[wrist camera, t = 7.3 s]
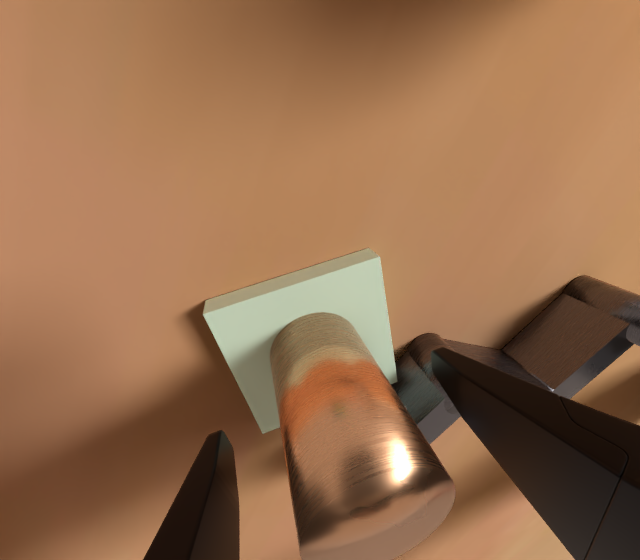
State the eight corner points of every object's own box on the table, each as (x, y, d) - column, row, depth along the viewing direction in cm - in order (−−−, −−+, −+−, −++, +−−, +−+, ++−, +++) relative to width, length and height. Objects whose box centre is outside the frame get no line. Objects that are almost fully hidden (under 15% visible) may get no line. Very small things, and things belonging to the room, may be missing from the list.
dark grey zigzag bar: (578, 343, 18) (663, 393, 14) (336, 441, 16) (364, 527, 12) (596, 270, 15) (703, 308, 12) (314, 374, 13) (342, 456, 10)
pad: (387, 367, 14) (397, 381, 14) (261, 415, 14) (262, 433, 13) (368, 247, 11) (379, 256, 11) (205, 300, 11) (202, 314, 10)
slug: (364, 369, 13) (456, 529, 7) (284, 399, 12) (321, 592, 7) (350, 299, 11) (455, 442, 6) (256, 331, 11) (277, 518, 5)
